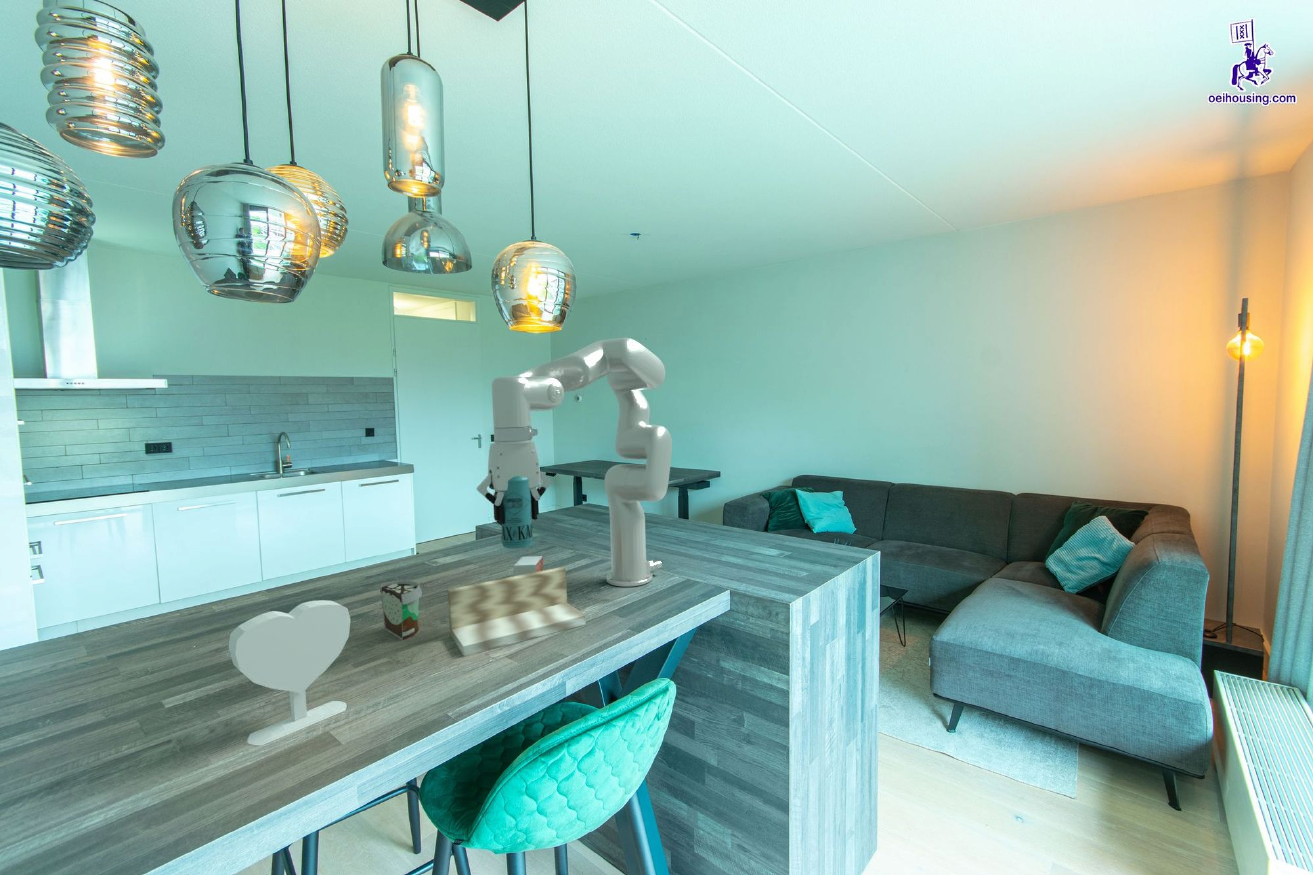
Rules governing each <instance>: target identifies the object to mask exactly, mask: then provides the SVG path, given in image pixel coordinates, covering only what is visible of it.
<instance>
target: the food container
mask: <svg viewBox="0 0 1313 875" xmlns="http://www.w3.org/2000/svg"><path fill="white" fill-rule="evenodd" d="M379 594H380V595H381V603H382V604H381V605H382V615H383V624H384V630H385V631H387V632H389V633H391V634H392V635H394V636H395V637H397V638H398V639H400V640H401V641H405V640H408V639H410V638H412V637H413V636H415V635H416V634H418V631H419V616H420V613H419V612H420V610H419V609H420V606H419V605H420V603H419V602H420V598H421V597H422V595H423V592H422V588H421V586H420V584H419V583H418V582H416V581H413V580H396V581H388V582H383V583H380V586H379Z"/></svg>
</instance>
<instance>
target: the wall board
mask: <svg viewBox="0 0 1313 875" xmlns="http://www.w3.org/2000/svg"><path fill="white" fill-rule="evenodd" d="M566 572H567V570H566V568H565V567H563V566H560V567H555V568H550V569H545V570H544V571H539V572H534V573H529V574H524V575H519V576H514V575H513V576H508V577H504V578H499V579H494V580H489V581H485V582H478V583H473V584H470V585H469V584H468V585H465V586H459V587H455V588H449V589H447V603H448V604H447V605H448V607H447V608H448V621H449V622H448V623H449V635H450V636H449V637H451V639H452V641H453V642H454V644H455V645H456V647H457V648H458V650H459V651H460V653H461V654H462V656H463V657H467V656H470V655H474V654H479V653H481V652H485V651H489V650H490V651H491V650H493V649H497V648H501V647H505V646H508V645H513V644H517V643H521V642H524V641H528V640H533V639H535V638H539V637H544V636H547V635H551V634H555V633H557V632H562V631H565V630H570V629H573V628H578V627H582V626H585V625H586V623H587V622H586V621H587V620H586V615H585V613H583V612H582V611H579V610H578V609H577V608H575V607H574V606H572V605H571V604H570V603H568V593H567V573H566Z"/></svg>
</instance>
